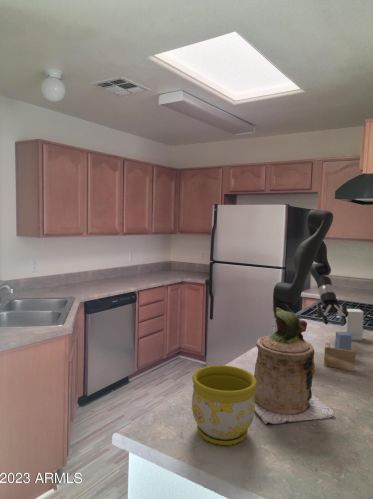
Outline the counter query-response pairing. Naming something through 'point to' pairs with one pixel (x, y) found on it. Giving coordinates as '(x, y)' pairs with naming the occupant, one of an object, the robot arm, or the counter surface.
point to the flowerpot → (223, 403)
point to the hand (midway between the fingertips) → (335, 324)
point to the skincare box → (354, 323)
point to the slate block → (343, 340)
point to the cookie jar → (286, 374)
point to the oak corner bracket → (339, 357)
